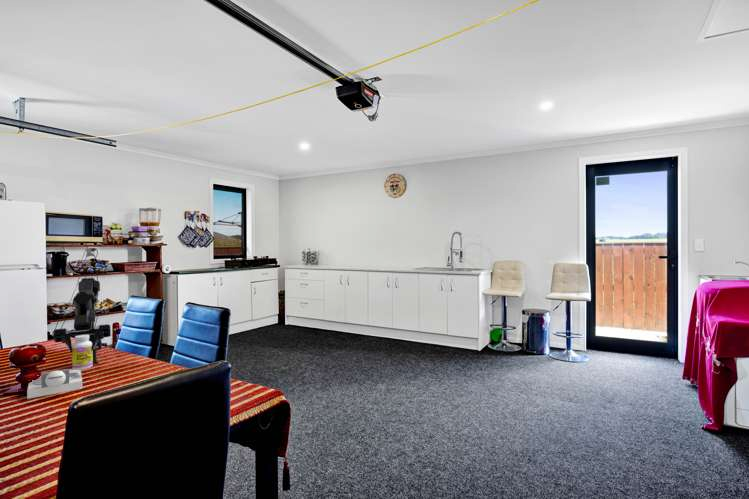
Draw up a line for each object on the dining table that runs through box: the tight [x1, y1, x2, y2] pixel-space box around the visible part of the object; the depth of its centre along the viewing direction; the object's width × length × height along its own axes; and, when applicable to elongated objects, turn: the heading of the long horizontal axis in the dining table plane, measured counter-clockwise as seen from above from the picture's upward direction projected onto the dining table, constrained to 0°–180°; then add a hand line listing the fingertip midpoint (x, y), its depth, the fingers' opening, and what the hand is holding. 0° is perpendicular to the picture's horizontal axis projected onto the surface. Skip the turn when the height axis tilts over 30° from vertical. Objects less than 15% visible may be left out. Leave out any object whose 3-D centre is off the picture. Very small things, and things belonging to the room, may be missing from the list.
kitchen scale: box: [26, 368, 83, 400], centre depth 156 cm, size 21×16×8 cm
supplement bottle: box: [71, 335, 94, 371], centre depth 160 cm, size 7×7×13 cm
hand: (81, 350), depth 159 cm, fingers closed on supplement bottle, 7 cm apart
